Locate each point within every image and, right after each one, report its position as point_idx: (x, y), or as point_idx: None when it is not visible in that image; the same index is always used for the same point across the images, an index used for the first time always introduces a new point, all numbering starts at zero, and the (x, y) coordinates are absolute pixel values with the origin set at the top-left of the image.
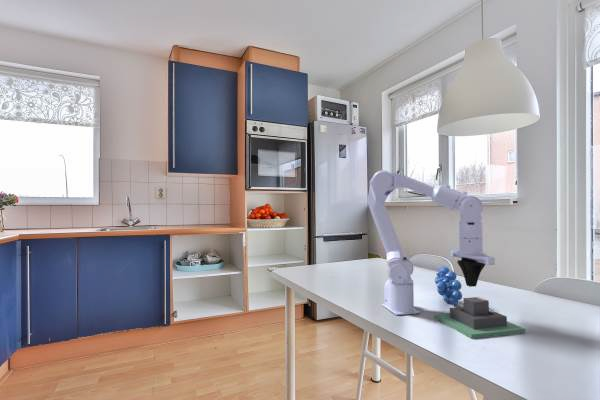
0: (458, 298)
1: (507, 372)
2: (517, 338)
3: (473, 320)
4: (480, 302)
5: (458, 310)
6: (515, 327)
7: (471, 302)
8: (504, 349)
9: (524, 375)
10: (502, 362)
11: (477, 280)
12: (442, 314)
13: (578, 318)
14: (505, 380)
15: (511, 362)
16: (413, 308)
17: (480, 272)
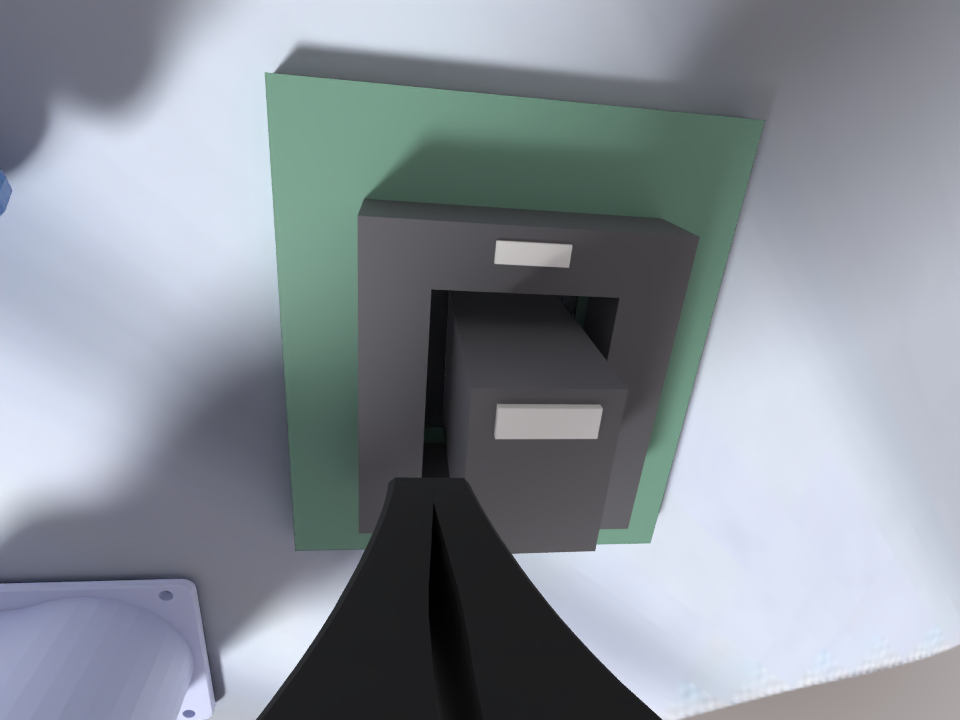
0: (2, 210)
1: (899, 591)
2: (765, 273)
3: (622, 523)
4: (606, 477)
5: None
6: (710, 175)
7: (567, 544)
8: (799, 463)
9: (946, 555)
10: (854, 557)
11: (497, 535)
12: (303, 502)
13: None
14: (916, 628)
15: (876, 527)
16: (147, 625)
17: (593, 655)
